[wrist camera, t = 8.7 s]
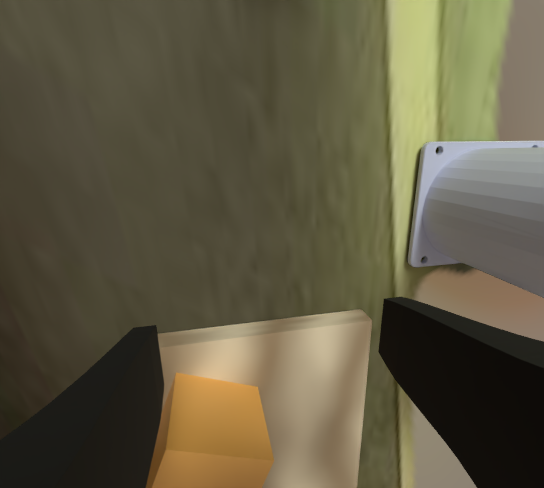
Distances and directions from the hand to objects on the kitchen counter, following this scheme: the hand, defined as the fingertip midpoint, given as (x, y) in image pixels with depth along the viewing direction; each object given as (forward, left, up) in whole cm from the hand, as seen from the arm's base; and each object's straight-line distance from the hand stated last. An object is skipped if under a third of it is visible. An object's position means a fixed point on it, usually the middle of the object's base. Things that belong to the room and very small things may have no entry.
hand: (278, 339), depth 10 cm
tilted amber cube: (+3, +10, -8) cm, 13 cm away
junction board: (0, +13, -9) cm, 16 cm away
